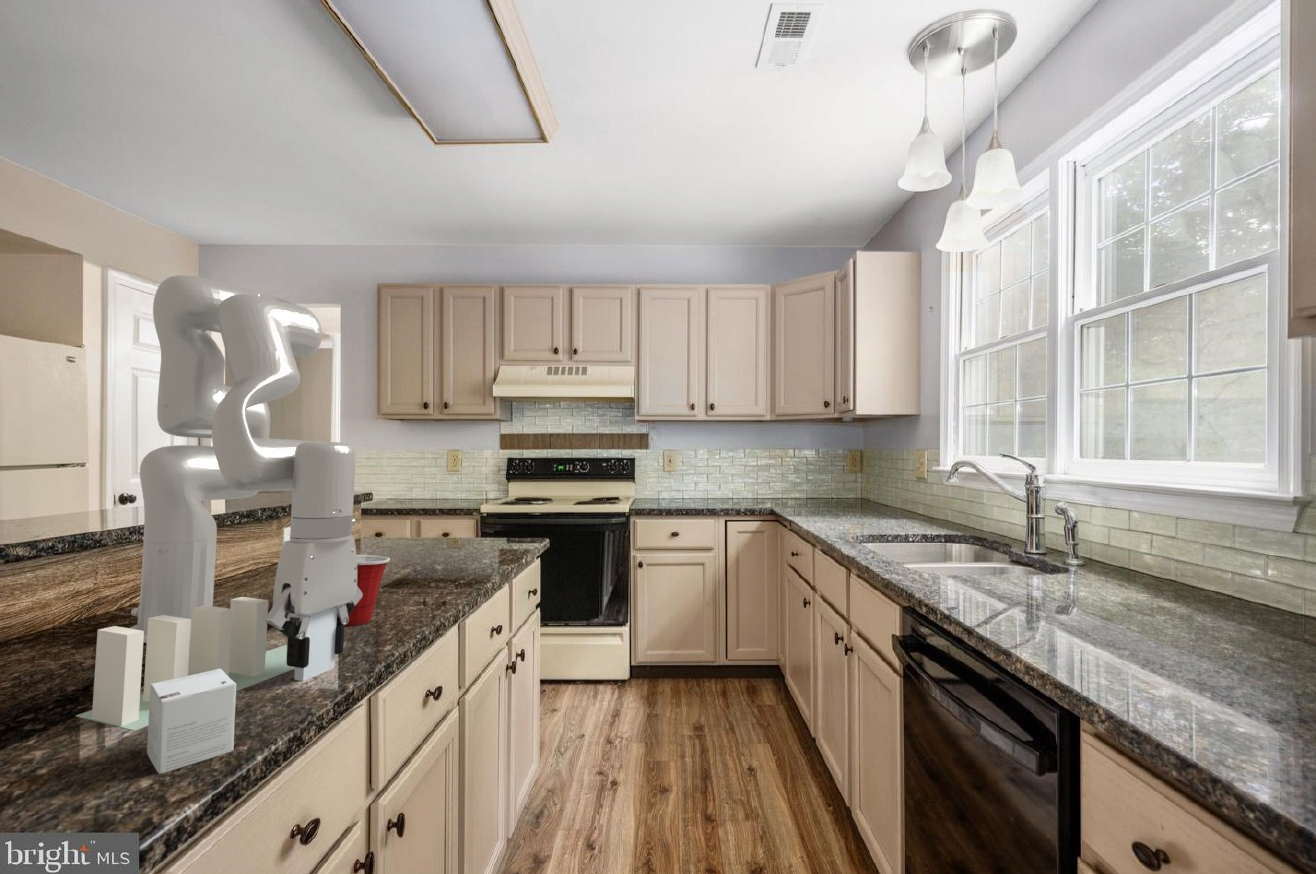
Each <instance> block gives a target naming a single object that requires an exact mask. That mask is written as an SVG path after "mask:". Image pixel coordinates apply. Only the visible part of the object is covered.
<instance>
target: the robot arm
mask: <svg viewBox="0 0 1316 874" xmlns="http://www.w3.org/2000/svg"><path fill="white" fill-rule="evenodd" d="M152 304H153V305H152V316H153V324H154V328H155V332H156V335H157V339H158V341H159V347H160V367H159V369H160V370H159V379H158V381H159V382H158V393H157V408H156V412H157V414H156V415H157V416H156V417H157V423H158V426H159V428H160V430H161V431H163V432H164V433H165V434H168V435H171V436H175V437H180V438H181V437H182V438H195V439H211V442H212V445H188V444H182V445H168V446H161V447H158V448H156V449H153V450H151V451H150V452H148V453H147V454H146V455H145V456H144V457H143V459H142V460H141V463H140V465H139V466H140V467H139V480H140V484H141V485H140V486H141V492H142V498H143V499H142V500H143V509H144V511H143V515H144V516H143V517H144V518H143V519H144V523H143V525H144V526H143V527H144V528H143V544H142V545H143V549H142V562H141V563H142V565H141V577H140V578H141V579H140V595H139V596H140V597H139V605H137V606H138V607H134V608H132V610H131V611H130V614H131V616H134V617H137V621H136V622H137V624H135V625H133V626H131V627H129V628H130V629H136V630H142V631H144V639H143V644H147V629H148V618H152V617H156V616H160V615H167V616H173V617H180V618H186V619H191V620H192V608H195V607H200V606H204V605H207V606H213V605H214V592H215V591H214V589H215V588H214V587H215V572H216V556H217V553H216V552H217V536H218V533H217V532H218V527H217V523H216V520H215V518H214V516H213V515H212V514H211V513H210V512H209V510H207V508H206V507H205V505H203V503H202V502H204V501H205V502H206V501H215V500H216V501H217V500H218V501H219V500H236V499H246V498H250V497H253V496H255V495H257V494H258V493H259V492H278V491H287V492H291V491H292V493H291V494H292V495H291V509H290V510H291V511H290V516H291V517H290V533H289V540H285V541H284V542H283V545H282V547H281V551H280V554H279V557H278V563H277V567H276V573H275V579H274V587H273V597H272V608H271V609H270V611H268V615H267V616H266V618H265V621H266V622H267V624H269V625H270V626H272V627H274V628H276V629H277V631H278V632H280V633H281V634H282V636H283V637H284V638H287V640H286V641H287V642H286V643H287V644H286V645H287V662H286V663H287V665H288V666H292V667H298V668H305V667H307V666H308V664H309V646H310V639H309V637H305V636H306V633H307V629H308V626H309V622H310V618H311V615H312V614H315V613H319V612H322V611H326V610H329V609H332V608H336V609H337V624H336V635H335V655H340V654H342V653H344V643H345V641H344V640H345V639H344V638H345V626H344V625H346V624H347V623H348V621H349V615H350V614H351V612H352V611H353V609H354V606H355V605H356V604H357V603H358V602H359V600H360V599H361V598H362V596H363V594H362V592H361V590H360V589H359V588H358V586H357V555H358V554H357V548H356V542H355V536H354V535H353V527H354V526H355V524H356V519H355V518H354V517H353V515H354V514H353V512H354V497H355V478H356V477H355V474H356V456H357V455H356V450H355V448H354V447H353V446H352V445H351V444H349V443H346V442H337V441H336V442H335V441H318V440H317V441H315V440H307V439H306V440H304V439H303V440H302V439H287V438H270V433H271V432H270V430H271V412H270V406H269V405H268V402H272V401H277V400H279V399H281V398H283V397H284V398H285V397H286V396H288V395H290V394H292V393H293V392H294V391H295V390H297V388H298V387H299V385H300V383H301V375H300V371H299V368H298V366H297V362H296V360H295V356H297V357H307V356H308V357H309V356H311V355H313V354H314V353H316V352H317V351H318V349H319V348H320V346H321V343H322V339H323V331H322V326H321V323H320V321H319V319H318V317H317V316H316V315H315V313H314V312H313V311H311V310H310V309H309V308H307V307H304V306H301V305H299V304H296V303H292V301H287V300H285V299H283V298H280V297H278V296H275V295H272V294H271V295H270V294H267V293H264V292H261V291H256V290H252V289H248V288H244V287H242V286H241V287H240V286H237V285H232V284H229V283H226V282H223V281H218V280H215V279H211V278H210V279H209V278H205V277H201V276H195V275H186V274H185V275H183V274H181V275H180V274H179V275H178V274H177V275H172V276H168V277H167V278H165V279H164V280H162V282H161V283H160V284H159V285H158V287H157V288H156V291H155V294H154V298H153V303H152ZM208 332H215V333H218V334H219V333H220V335H221V338H222V342H223V347H224V350H225V353H226V357H227V360H228V364H229V368H230V373H231V375H232V378H233V379H232V380H233V382H234V383H233V384H234V386H227V385H225V368H226V360H225V356H224V355H223V353H222V350H221V349H220V348H219V346H218V344H217V343H216V341H215V340H214V339H213V338H212V336H211V335H209V333H208ZM286 614H287V616H286V617H287V618H286V617H285V615H286ZM297 618H300V620H299V624H298V626H297ZM190 637H191V632H190Z"/></svg>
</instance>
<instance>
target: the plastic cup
mask: <svg viewBox="0 0 1316 874" xmlns="http://www.w3.org/2000/svg"><path fill="white" fill-rule="evenodd" d="M356 555H357V586H358V588H359V589H360V590H361V592H362V594H363V596H362V598H361V599H360V600H359V602H358V603H357V604H356V605H355V606H354V609H353V611H352V612H351V614H350V615H349V621H348V623H347V624H346V625H344V627H346V626H347V627H348V626H349V627H351V626H352V627H353V626H360V625H364V623H365V624H367V623H370V622H371V620H372V618H373V617H374V611H375V606H376V602H377V599H378V594H379V591H380V590H379V589H380V586H381V581H382V578H383V577H382V576H383V575H384V572H385V570H386V566H387V565H388V563H389V562H390V560H391V558H390V557H388V556H383V555H382V556H381V555H372V554H356Z"/></svg>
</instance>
